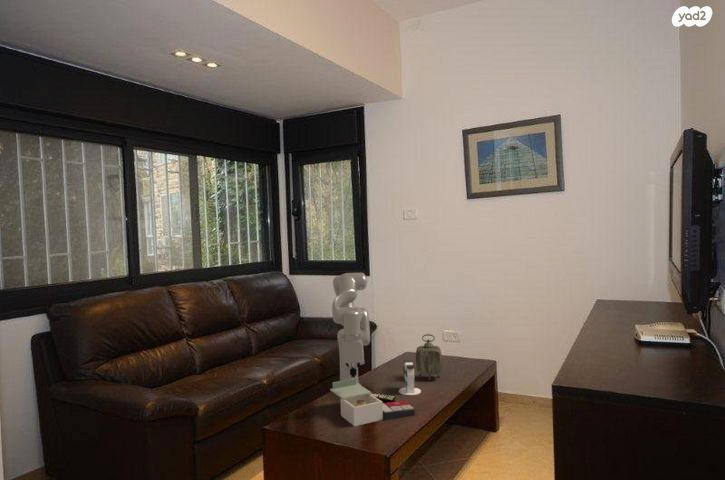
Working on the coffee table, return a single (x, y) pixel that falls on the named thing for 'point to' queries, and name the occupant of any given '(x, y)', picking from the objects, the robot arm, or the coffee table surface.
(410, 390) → the white pedestal stand
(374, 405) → the box
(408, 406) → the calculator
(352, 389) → the lid
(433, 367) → the tabletop clock
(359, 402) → the tan cylinder
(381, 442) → the coffee table surface
